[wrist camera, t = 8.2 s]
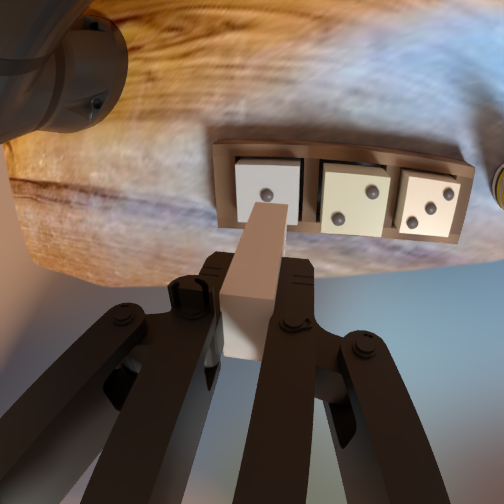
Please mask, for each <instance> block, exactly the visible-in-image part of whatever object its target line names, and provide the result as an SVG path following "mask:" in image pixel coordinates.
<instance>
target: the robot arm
mask: <svg viewBox="0 0 504 504" xmlns="http://www.w3.org/2000/svg"><path fill="white" fill-rule="evenodd" d="M93 1H94V0H0V144H3V143H5V142H8V141H10V140H13V139H15V138H18V137H20V136H23V135H25V134H28V133H30V132H33V131H36V130H39V131H48V132H57V133H74V132H78V131H81V130H84V129H87V128H90V127H92V126H94V125H96V124H98V123H99V122H100V121H102V120H103V119H104V118H105V117H106V116H107V115H108V114H109V113H110V112H111V110H112V109H113V108H114V106H115V105H116V103H117V101H118V99H119V97H120V95H121V93H122V91H123V88H124V85H125V81H126V77H127V70H128V53H127V47H126V44H125V40H124V38H123V36H122V34H121V32H120V31H119V29H118V28H117V27H116V26H115V25H114V24H113V23H112V22H110V21H109V20H107V19H105V18H102V17H97V16H90V15H82V14H83V12H84V11H85V10H86V9H87V8H88V7H89V5H90V4H91V3H92V2H93ZM287 216H288V204H277V203H264V202H255V204H254V207H253V209H252V212H251V214H250V217H249V219H248V222H247V224H246V227H245V229H244V232H243V234H242V237H241V239H240V242H239V244H238V247H237V249H236V252H235V253H227V252H217V251H216V252H214V253H213V254H212V255H210V256H209V257H208V258H207V259H206V261H205V263H204V265H203V268H201V270H200V272H199V275H186V276H182V277H179V278H177V279H175V280H173V281H172V282H171V283H170V284H169V285H168V286H167V287H168V291H169V297H170V302H171V307H172V309H171V311H170V312H166V313H160V314H145V313H144V311H143V309H142V307H140V306H139V305H137V304H134V303H121V304H119V305H116V306H114V307H112V308H111V309H109V310H108V311H107V312H106V313H105V314H104V315H103V316H102V317H101V318H100V319H98V320H97V321H96V322H95V323H94V324H93V325H92V326H91V327H90V328H89V329H88V330H87V331H86V332H85V333H84V334H83V335H82V336H81V337H79V338H78V339H77V341H75V342H74V343H73V344H72V345H71V346H70V347H69V348H68V349H67V350H66V351H65V352H64V353H63V354H62V355H61V356H60V357H59V358H58V359H57V360H56V361H55V362H54V363H53V364H52V365H51V366H50V367H49V368H48V369H47V370H46V371H45V372H44V373H43V374H42V375H41V376H40V377H39V378H38V379H37V380H36V381H35V382H34V383H33V384H32V385H31V386H30V387H29V388H28V389H27V390H26V392H25V393H24V394H23V395H22V396H21V397H20V398H19V399H18V400H17V401H16V402H15V403H14V404H13V405H12V406H11V407H10V409H9V410H8V411H7V412H6V413H5V414H4V415H3V416H2V417H1V418H0V504H59V503H60V502H61V501H62V500H63V498H64V497H65V496H66V495H67V493H68V492H69V491H70V490H71V488H72V487H73V486H74V484H75V483H76V482H77V481H78V480H79V478H80V477H81V476H82V475H83V473H84V472H85V471H86V469H87V468H88V467H89V466H90V464H91V463H92V462H93V461H94V459H95V458H96V457H97V456H98V454H99V453H100V452H101V451H102V449H103V451H102V453H101V455H100V457H99V459H98V462H97V464H96V466H95V469H94V471H93V473H92V476H91V478H90V480H89V483H88V485H87V488H86V490H85V492H84V495H83V497H82V500H81V502H80V504H181V502H182V499H183V495H184V492H185V488H186V485H187V482H188V478H189V475H190V471H191V468H192V464H193V461H194V458H195V454H196V451H197V447H198V444H199V441H200V437H201V434H202V431H203V427H204V423H205V420H206V417H207V413H208V410H209V407H210V403H211V400H212V396H213V393H214V390H215V386H216V383H217V379H218V376H219V372H220V367H221V362H220V356H221V353H222V350H223V349H224V356H228V357H235V358H242V359H250V360H257V361H262V363H261V368H260V373H259V378H258V383H257V389H256V394H255V399H254V404H253V409H252V414H251V419H250V424H249V429H248V434H247V439H246V444H245V448H244V453H243V458H242V462H241V467H240V471H239V476H238V481H237V486H236V489H235V494H234V498H233V502H232V504H306V495H307V487H308V476H309V466H310V455H311V443H312V430H313V413H314V397H315V398H318V399H321V400H323V404H324V408H325V412H326V416H327V420H328V424H329V428H330V432H331V436H332V440H333V444H334V448H335V452H336V456H337V460H338V465H339V468H340V473H341V477H342V482H343V486H344V490H345V495H346V499H347V504H450V500H449V497H448V494H447V491H446V488H445V485H444V482H443V479H442V476H441V473H440V471H439V468H438V465H437V462H436V460H435V457H434V454H433V452H432V449H431V446H430V444H429V441H428V439H427V436H426V434H425V431H424V429H423V426H422V424H421V421H420V419H419V416H418V414H417V412H416V409H415V407H414V405H413V402H412V400H411V398H410V395H409V393H408V391H407V389H406V386H405V384H404V382H403V380H402V378H401V375H400V373H399V371H398V369H397V367H396V365H395V362H394V360H393V358H392V356H391V354H390V352H389V350H388V348H387V346H386V344H385V343H384V341H383V340H382V339H381V338H380V337H379V336H377V335H376V334H374V333H371V332H368V331H362V330H361V331H360V330H357V331H353V332H350V333H348V334H347V335H346V336H345V337H340V336H337V335H334V334H332V333H330V332H327V331H325V330H324V329H323V328H321V327H320V326H319V324H317V322H316V320H315V316H314V267H313V266H312V264H311V263H310V261H309V260H308V259H299V258H289V257H284V256H285V243H286V230H287Z"/></svg>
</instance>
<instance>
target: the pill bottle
mask: <svg viewBox="0 0 504 504" xmlns="http://www.w3.org/2000/svg"><path fill="white" fill-rule="evenodd" d="M492 190H493V196H494V199H495V201H496V203H497V204H498V205H499V206H500V207H501V208H502V209H503V210H504V164H502V165H501V166H500V167H499V168H498V170H497V171H496V173H495V175H494V179H493V185H492Z"/></svg>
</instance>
